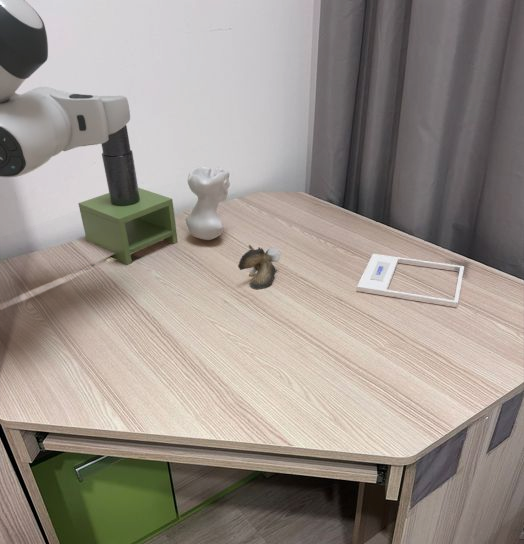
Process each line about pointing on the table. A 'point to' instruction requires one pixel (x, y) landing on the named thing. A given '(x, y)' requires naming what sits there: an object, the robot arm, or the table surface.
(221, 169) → the white hourglass figure
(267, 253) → the eagle figurine
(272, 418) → the table surface
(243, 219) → the table surface
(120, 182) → the coffee pot
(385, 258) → the photo frame
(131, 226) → the nightstand
